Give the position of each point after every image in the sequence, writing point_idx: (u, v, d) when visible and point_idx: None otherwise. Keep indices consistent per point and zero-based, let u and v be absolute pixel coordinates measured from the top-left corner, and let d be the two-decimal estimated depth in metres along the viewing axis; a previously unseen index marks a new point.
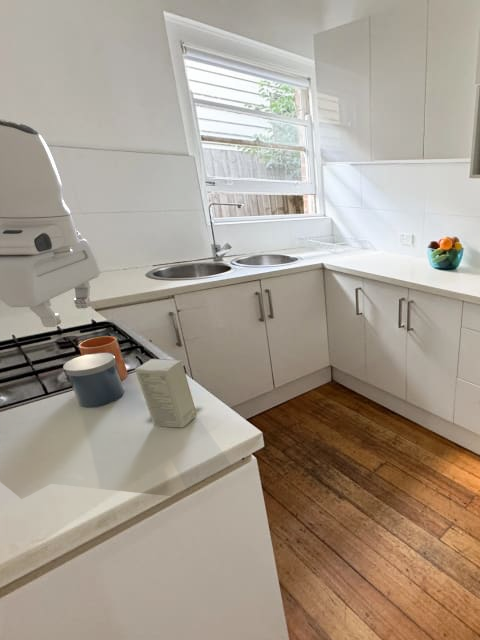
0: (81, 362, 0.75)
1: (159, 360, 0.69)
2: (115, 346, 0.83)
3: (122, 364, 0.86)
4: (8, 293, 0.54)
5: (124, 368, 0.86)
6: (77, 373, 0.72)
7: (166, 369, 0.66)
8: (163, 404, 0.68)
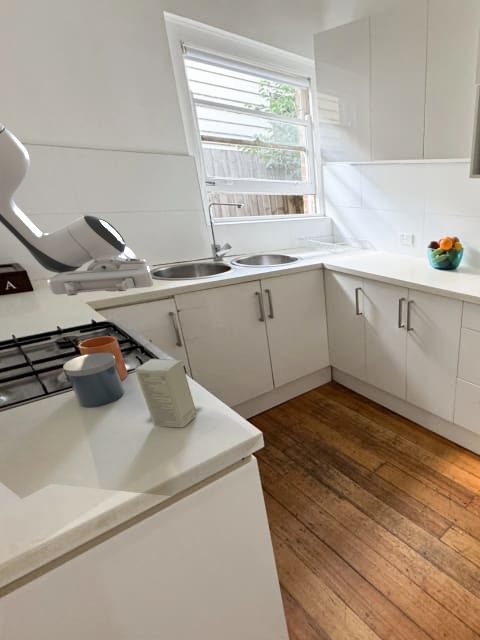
0: (81, 362, 0.75)
1: (159, 360, 0.69)
2: (115, 346, 0.83)
3: (122, 364, 0.86)
4: (150, 275, 0.97)
5: (124, 368, 0.86)
6: (77, 373, 0.72)
7: (166, 369, 0.66)
8: (163, 404, 0.68)
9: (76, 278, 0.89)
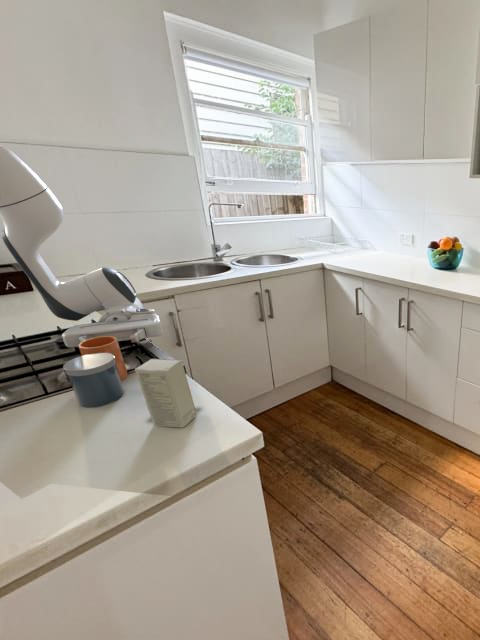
0: (81, 362, 0.75)
1: (159, 360, 0.69)
2: (115, 346, 0.83)
3: (122, 364, 0.86)
4: (160, 324, 1.01)
5: (124, 368, 0.86)
6: (77, 373, 0.72)
7: (166, 369, 0.66)
8: (163, 404, 0.68)
9: (90, 331, 0.93)
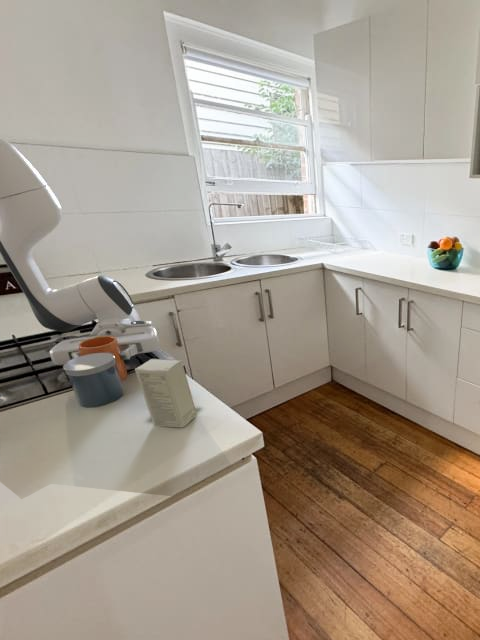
0: (81, 362, 0.75)
1: (159, 360, 0.69)
2: (115, 346, 0.83)
3: (122, 364, 0.86)
4: None
5: (124, 368, 0.86)
6: (77, 373, 0.72)
7: (166, 369, 0.66)
8: (163, 404, 0.68)
9: None
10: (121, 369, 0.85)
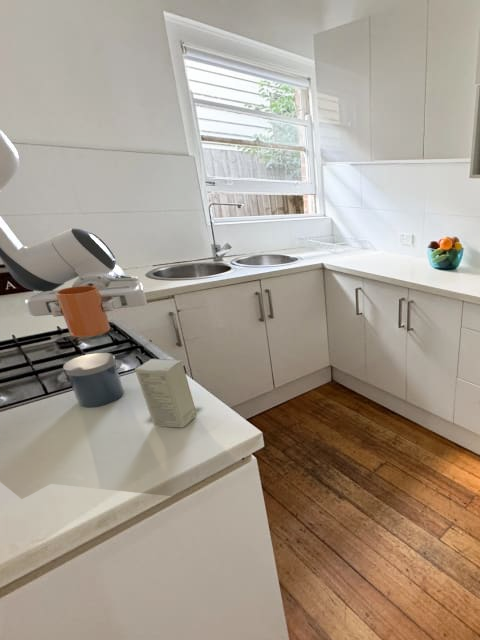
0: (81, 362, 0.75)
1: (159, 360, 0.69)
2: (96, 295, 0.77)
3: (104, 316, 0.80)
4: (144, 293, 0.87)
5: (106, 321, 0.80)
6: (77, 373, 0.72)
7: (166, 369, 0.66)
8: (163, 404, 0.68)
9: None
10: (103, 321, 0.79)
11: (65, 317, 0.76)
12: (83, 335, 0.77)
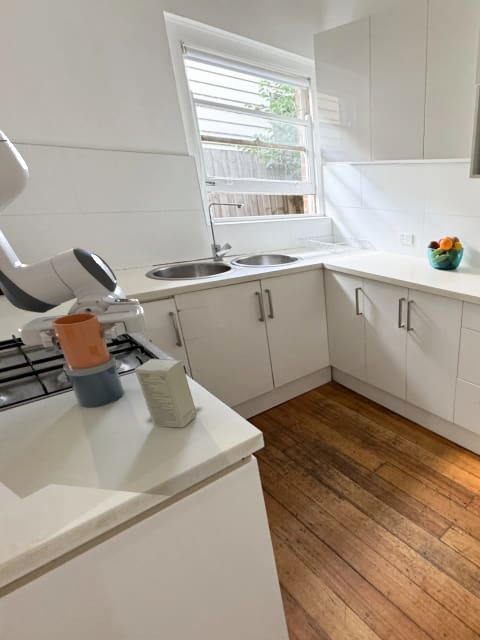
0: None
1: (159, 360, 0.69)
2: (95, 324, 0.73)
3: (103, 345, 0.75)
4: (144, 318, 0.83)
5: (106, 350, 0.76)
6: (77, 373, 0.72)
7: (166, 369, 0.66)
8: (163, 404, 0.68)
9: None
10: (102, 351, 0.75)
11: (62, 348, 0.71)
12: (82, 366, 0.73)
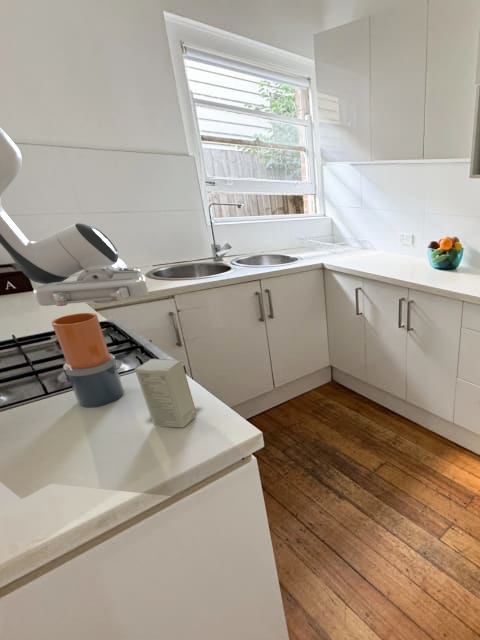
0: None
1: (159, 360, 0.69)
2: (95, 324, 0.73)
3: (103, 345, 0.75)
4: (146, 284, 0.91)
5: (106, 350, 0.76)
6: (77, 373, 0.72)
7: (166, 369, 0.66)
8: (163, 404, 0.68)
9: (65, 288, 0.83)
10: (102, 351, 0.75)
11: (62, 348, 0.71)
12: (82, 366, 0.73)
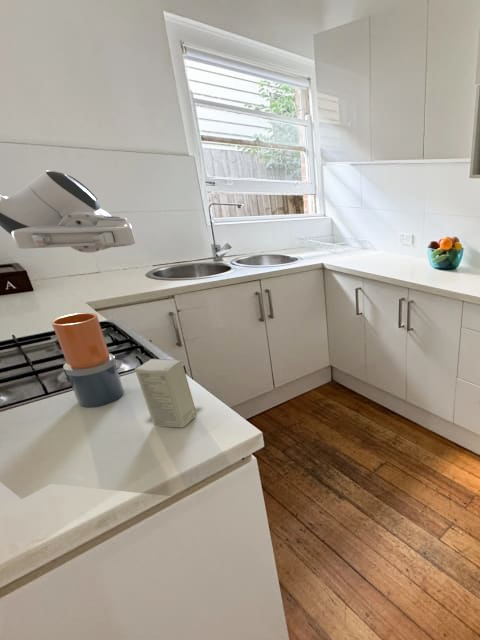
0: None
1: (159, 360, 0.69)
2: (95, 324, 0.73)
3: (103, 345, 0.75)
4: (132, 232, 0.87)
5: (106, 350, 0.76)
6: (77, 373, 0.72)
7: (166, 369, 0.66)
8: (163, 404, 0.68)
9: (46, 230, 0.78)
10: (102, 351, 0.75)
11: (62, 348, 0.71)
12: (82, 366, 0.73)
